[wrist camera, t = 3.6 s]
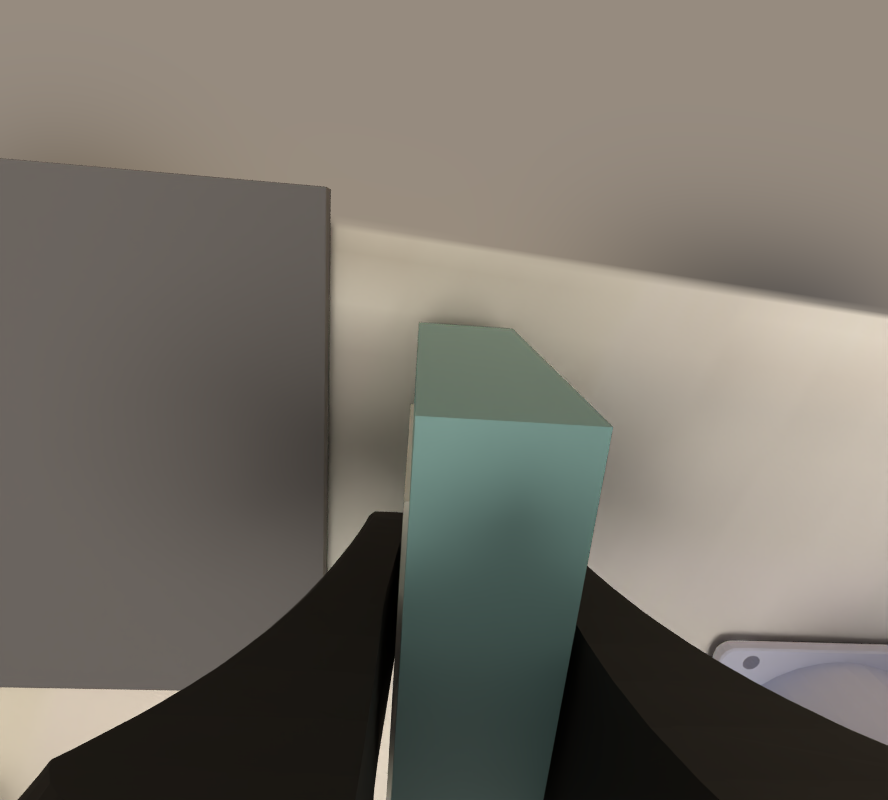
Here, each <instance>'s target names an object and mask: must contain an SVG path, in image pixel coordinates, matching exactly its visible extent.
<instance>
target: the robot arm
mask: <svg viewBox="0 0 888 800" xmlns="http://www.w3.org/2000/svg"><path fill="white" fill-rule="evenodd" d="M402 525H403V513H398V512H377V511H375V512H374V513H372V514H371V515H370V516H369V517H368V519H367V521H366V522H365V524H364V526H363V527H362V529H361V530H360V532H359V533H358V535H357V536H356V537H355V539H354V540H353V541H352V543H351V544H350V545H349V547H348V548H347V549H346V550H345V552H344V553H343V554H342V555H341V557H340V558H339V559H338V560H337V561H336V563H335V564H334V565H333V566H332V567H331V569H330V570H329V571H328V572H327V573H326V574H325V575H324V576H323V577H322V578H321V579H320V580H319V582H318V583H317V584H316V585H315V586H314V587H313V588H312V589H311V590H310V591H309V592H308V593H307V594H306V595H305V596H304V597H303V598H302V599H301V600H300V601H299V602H298V603H297V604H296V605H295V606H294V607H293V608H292V609H291V610H289V611H288V612H287V613H286V614H285V615H284V616H283V617H282V618H280V619H279V620H278V621H277V622H276V623H275V624H274V625H272V626H271V627H270V628H269V629H268V630H266V631H265V632H264V633H263V634H261V635H260V636H259V637H258V638H256V639H255V640H254V641H252V642H251V643H250V644H249V645H247V646H246V647H245V648H243V649H242V650H241V651H239V652H238V653H236V654H235V655H234V656H232V657H231V658H230V659H228V660H227V661H226V662H224V663H223V664H221V665H220V666H218V667H217V668H215V669H214V670H212V671H211V672H209V673H208V674H206V675H205V676H203V677H201V678H200V679H198V680H197V681H195V682H194V683H192V684H191V685H189V686H187V687H186V688H184V689H182V690H181V691H179V692H177V693H176V694H174V695H172V696H171V697H169V698H167V699H166V700H164V701H162V702H161V703H159V704H157V705H155V706H154V707H152V708H150V709H148V710H147V711H145V712H143V713H141V714H139V715H138V716H136V717H134V718H132V719H130V720H128V721H126V722H124V723H122V724H120V725H118V726H116V727H115V728H113V729H111V730H109V731H107V732H105V733H103V734H101V735H99V736H97V737H95V738H93V739H92V740H90V741H88V742H86V743H84V744H82V745H80V746H78V747H76V748H74V749H72V750H70V751H68V752H66V753H64V754H62V755H60V756H58V757H56V758H54V759H52V760H51V761H50V762H49V763H48V764H47V765H46V767H45V768H44V769H43V770H42V772H41V773H40V774H39V776H38V777H37V778H36V779H35V780H34V781H33V783H32V784H31V785H30V786H29V787H28V788H27V790H26V791H25V792H24V793H23V794H22V795H21V797H20V798H19V799H18V800H373V798H374V786H375V778H376V771H377V763H378V756H379V750H380V744H381V737H382V731H383V725H384V719H385V713H386V707H387V701H388V695H389V689H390V683H391V676H392V670H393V664H394V658H395V644H396V627H397V610H398V593H399V576H400V559H401V542H402ZM543 800H888V645H884V644H846V643H809V642H771V641H734V640H733V641H726V642H723V643H721V644H720V645H719V646H718V647H717V648H716V650H715V651H714V654H713V657H710V656H709V655H707V654H706V653H704V652H702V651H701V650H699V649H697V648H696V647H694V646H693V645H691V644H689V643H688V642H686V641H685V640H683V639H682V638H681V637H679V636H678V635H676V634H675V633H673V632H672V631H670V630H669V629H667V628H666V627H664V626H663V625H661V624H660V623H658V622H657V621H655V620H654V619H653V618H651V617H650V616H648V615H647V614H646V613H644V612H643V611H642V610H640V609H639V608H638V607H636V606H635V605H634V604H633V603H631V602H630V601H629V600H627V599H626V598H625V597H624V596H622V595H621V594H620V593H619V592H617V591H616V590H615V589H613V588H612V587H611V586H610V585H609V584H607V583H606V582H605V581H604V580H603V579H602V578H600V577H599V576H598V575H597V574H596V573H595V572H593V571H592V570H591V569H590V568H589V567H588V566H587V569H586V574H585V580H584V585H583V590H582V596H581V601H580V606H579V612H578V617H577V622H576V628H575V633H574V639H573V644H572V649H571V655H570V660H569V665H568V671H567V676H566V681H565V687H564V692H563V697H562V703H561V708H560V713H559V719H558V724H557V730H556V735H555V740H554V746H553V751H552V756H551V762H550V767H549V772H548V778H547V783H546V788H545V794H544V799H543Z"/></svg>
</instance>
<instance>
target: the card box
mask: <svg viewBox="0 0 888 800" xmlns="http://www.w3.org/2000/svg"><path fill="white" fill-rule="evenodd" d="M612 430H613V427H612V426H611V425H610V424H609V423H608V422H607V421H606V420H605V419H604V418H603V417H602V416H601V415H600V414H599V413H598V412H597V411H596V410H595V409H594V408H593V407H592V406H591V405H590V404H589V403H588V402H587V401H586V400H585V399H584V398H583V397H581V396H580V395H579V394H578V393H577V392H576V391H575V390H574V389H573V388H572V387H571V386H570V385H569V384H568V383H567V382H566V381H565V380H564V379H563V378H562V377H561V376H560V375H559V374H558V373H557V372H556V371H555V370H554V369H553V368H552V367H551V366H550V365H549V364H548V363H547V362H546V361H545V360H544V359H543V358H542V357H541V356H540V355H539V354H538V353H537V352H536V351H535V350H534V349H533V348H531V347H530V346H529V345H528V344H527V343H526V342H525V341H524V340H523V339H522V338H521V337H520V336H519V335H518V334H517V333H516V332H515V331H514V330H513V329H508V328H494V327H479V326H465V325H451V324H436V323H422V322H419V331H418V348H417V364H416V380H415V397H414V404H411V407H410V421H409V436H408V450H407V464H406V478H405V493H404V508H403V525H402V542H401V559H400V576H399V593H398V610H397V627H396V644H395V661H394V678H393V695H392V712H391V729H390V746H389V763H388V780H387V797H386V800H543V799H544V794H545V788H546V783H547V778H548V772H549V767H550V762H551V756H552V751H553V746H554V740H555V735H556V730H557V724H558V719H559V713H560V708H561V703H562V697H563V692H564V687H565V681H566V676H567V671H568V665H569V660H570V655H571V649H572V644H573V639H574V633H575V628H576V622H577V617H578V612H579V606H580V601H581V596H582V590H583V585H584V580H585V574H586V569H587V564H588V558H589V553H590V547H591V542H592V537H593V531H594V526H595V521H596V515H597V510H598V505H599V499H600V494H601V489H602V483H603V478H604V473H605V467H606V462H607V456H608V451H609V446H610V440H611V435H612Z"/></svg>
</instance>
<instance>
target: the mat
mask: <svg viewBox="0 0 888 800" xmlns="http://www.w3.org/2000/svg"><path fill="white" fill-rule="evenodd" d="M330 194H331V189H329V188H327V187H321V186H310V185H299V184H287V183H276V182H265V181H253V180H241V179H230V178H219V177H208V176H196V175H185V174H173V173H162V172H151V171H139V170H128V169H116V168H105V167H93V166H83V165H71V164H60V163H48V162H37V161H26V160H14V159H3V158H0V687H19V688H75V689H130V690H182V689H184V688H186V687H187V686H189V685H191V684H192V683H194V682H195V681H197V680H198V679H200V678H201V677H203V676H205V675H206V674H208V673H209V672H211V671H212V670H214V669H215V668H217V667H218V666H220V665H221V664H223V663H224V662H226V661H227V660H228V659H230V658H231V657H232V656H234V655H235V654H236V653H238V652H239V651H241V650H242V649H243V648H245V647H246V646H247V645H249V644H250V643H251V642H252V641H254V640H255V639H256V638H258V637H259V636H260V635H261V634H263V633H264V632H265V631H266V630H268V629H269V628H270V627H271V626H272V625H274V624H275V623H276V622H277V621H278V620H279V619H280V618H282V617H283V616H284V615H285V614H286V613H287V612H288V611H289V610H291V609H292V608H293V607H294V606H295V605H296V604H297V603H298V602H299V601H300V600H301V599H302V598H303V597H304V596H305V595H306V594H307V593H308V592H309V591H310V590H311V589H312V588H313V587H314V586H315V585H316V584H317V583H318V582H319V580H320V579H321V578H322V577H323V576H324V575H325V574H326V573H327V505H328V403H329V301H330V199H331V198H330V197H331V195H330Z"/></svg>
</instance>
